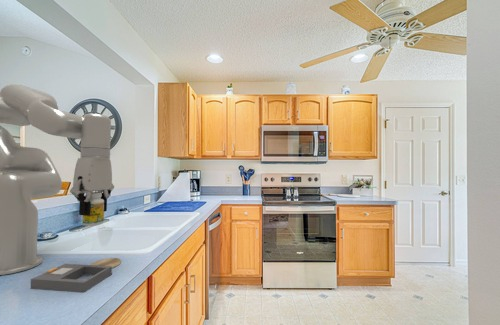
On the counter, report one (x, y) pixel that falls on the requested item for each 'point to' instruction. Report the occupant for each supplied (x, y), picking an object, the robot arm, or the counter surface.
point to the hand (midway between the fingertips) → (93, 212)
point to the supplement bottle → (95, 210)
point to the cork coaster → (108, 262)
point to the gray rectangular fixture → (71, 277)
